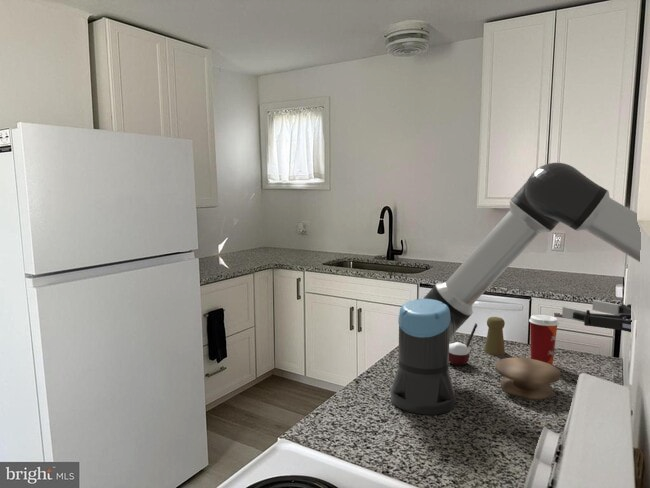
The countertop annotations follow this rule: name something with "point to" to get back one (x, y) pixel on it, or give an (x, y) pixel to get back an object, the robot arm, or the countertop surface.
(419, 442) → the countertop surface
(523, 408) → the countertop surface
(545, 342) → the paper cup
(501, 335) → the cork
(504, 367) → the pedestal stand
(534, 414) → the countertop surface
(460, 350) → the cocoa
